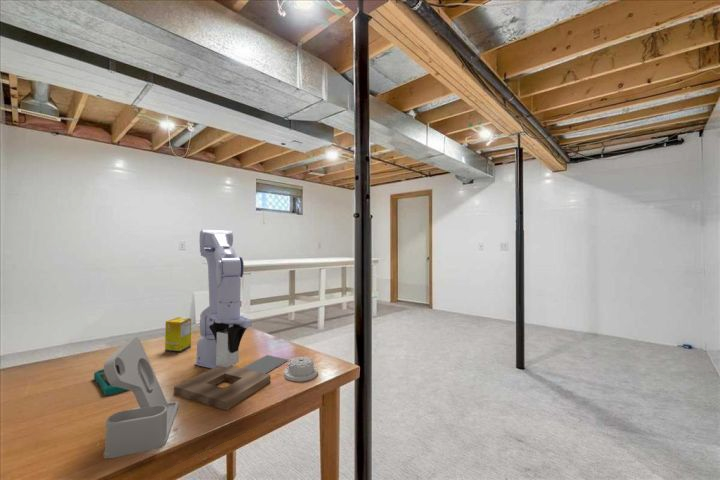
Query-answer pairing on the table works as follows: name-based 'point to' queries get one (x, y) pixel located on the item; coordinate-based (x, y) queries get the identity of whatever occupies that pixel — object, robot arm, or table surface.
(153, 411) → the phone holder
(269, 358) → the rubber mat
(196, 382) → the pocket board
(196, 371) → the table surface
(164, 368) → the table surface
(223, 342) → the alloy block
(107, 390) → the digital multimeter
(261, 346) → the table surface
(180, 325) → the supplement box
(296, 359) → the mechanical component
